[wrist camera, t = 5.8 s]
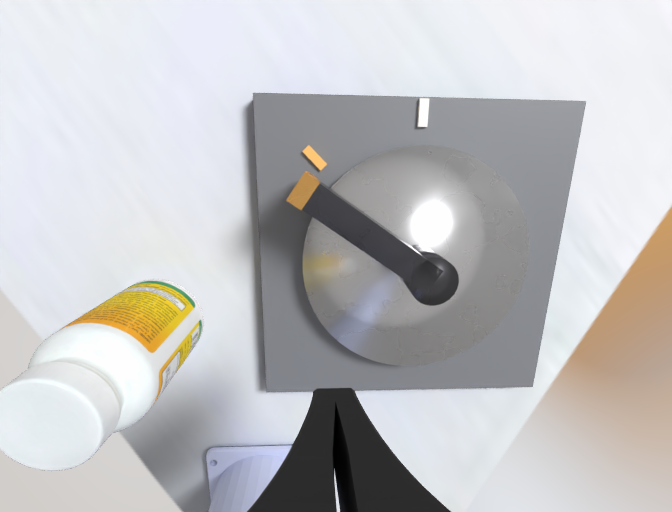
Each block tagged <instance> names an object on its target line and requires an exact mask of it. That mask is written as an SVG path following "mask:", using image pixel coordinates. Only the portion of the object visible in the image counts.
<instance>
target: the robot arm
mask: <svg viewBox="0 0 672 512" xmlns="http://www.w3.org/2000/svg"><path fill="white" fill-rule="evenodd" d="M213 460H215V461H213ZM206 462H207V472H208V481H209V491H210V501H211V504H210V507H209V510H208V512H337V511H336V498H335V485H334V468H335V475H336V483H337V490H338V497H339V504H340V512H451V511H450V510H448V509H447V508H446V507H445V506H444V505H443V504H442V503H441V502H439V501H438V500H437V499H436V498H435V497H434V496H433V495H432V494H431V493H430V492H429V491H428V490H426V489H425V488H424V487H423V486H422V485H421V484H420V483H419V482H418V480H417V479H416V478H415V477H414V476H413V475H412V474H411V473H410V472H409V471H408V470H407V469H406V467H405V466H404V465H403V464H402V463H401V462H400V461H399V459H398V458H397V457H396V456H395V454H394V453H393V452H392V451H391V449H390V448H389V447H388V445H387V444H386V443H385V441H384V440H383V439H382V437H381V436H380V434H379V433H378V432H377V430H376V428H375V427H374V425H373V424H372V422H371V421H370V419H369V418H368V416H367V414H366V413H365V411H364V409H363V407H362V406H361V404H360V402H359V400H358V398H357V396H356V394H355V391H354V390H353V389H352V388H317V389H316V390H314V391H313V397H312V401H311V404H310V407H309V410H308V413H307V416H306V418H305V420H304V423H303V425H302V427H301V429H300V432H299V434H298V436H297V438H296V439H295V441H294V443H293V445H285V446H249V447H214V448H210V449H209V450H208V452H207V454H206Z"/></svg>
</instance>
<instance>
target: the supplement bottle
mask: <svg viewBox="0 0 672 512" xmlns="http://www.w3.org/2000/svg"><path fill="white" fill-rule="evenodd" d="M203 326H204V319H203V313H202V310H201V307H200V305H199V303H198V301H197V300H196V299H195V297H194V296H193V295H192V294H191V293H190V292H188V291H187V290H186V289H184V288H183V287H181V286H179V285H178V284H176V283H173V282H170V281H167V280H161V279H150V280H144V281H141V282H138V283H136V284H134V285H132V286H130V287H128V288H127V289H125V290H124V291H122V292H120V293H118V294H117V295H115V296H113V297H112V298H110V299H109V300H107V301H105V302H104V303H102V304H101V305H99V306H97V307H96V308H94V309H93V310H91V311H89V312H88V313H86V314H84V315H83V316H81V317H80V318H78V319H76V320H75V321H73V322H71V323H70V324H68V325H67V326H65V327H63V328H62V329H60V330H59V331H57V332H55V333H54V334H52V335H51V336H49V337H48V338H47V339H46V340H45V341H44V342H43V343H42V344H41V345H40V346H39V347H38V348H37V350H36V351H35V352H34V354H33V356H32V358H31V360H30V363H29V366H28V370H26V371H24V372H23V373H22V374H21V375H19V376H18V377H17V378H15V379H14V380H13V381H11V382H10V383H9V384H8V385H6V386H5V387H3V388H2V389H1V390H0V450H1V451H2V452H3V453H4V454H6V455H7V456H8V457H10V458H11V459H13V460H15V461H17V462H18V463H20V464H22V465H25V466H27V467H30V468H34V469H39V470H48V471H57V470H66V469H70V468H73V467H76V466H78V465H80V464H83V463H84V462H86V461H87V460H89V459H90V458H91V457H92V456H93V455H94V454H95V453H96V452H97V451H98V449H99V448H100V447H101V446H102V444H103V443H104V442H105V441H106V439H107V438H108V437H109V436H110V435H111V434H112V433H115V432H118V431H121V430H123V429H126V428H128V427H129V426H131V425H133V424H134V423H136V422H137V421H138V420H140V419H141V418H142V417H143V416H144V415H145V414H146V413H147V412H148V411H149V409H150V408H151V407H152V406H153V404H154V403H155V401H156V400H157V399H158V397H159V396H160V395H161V393H162V392H163V390H164V389H165V387H166V386H167V385H168V383H169V382H170V380H171V379H172V378H173V376H174V375H175V373H176V372H177V371H178V369H179V368H180V366H181V365H182V364H183V362H184V361H185V359H186V358H187V357H188V355H189V354H190V352H191V351H192V349H193V348H194V347H195V345H196V343H197V342H198V340H199V339H200V336H201V334H202V331H203Z"/></svg>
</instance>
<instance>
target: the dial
mask: <svg viewBox="0 0 672 512" xmlns="http://www.w3.org/2000/svg"><path fill="white" fill-rule="evenodd" d="M286 201H288V202H289V203H291V204H292V205H294V206H295V207H297V208H298V209H300V210H303V211H305V212H306V213H308V214H309V215H311V216H312V219H311V221H310V223H309V227H308V230H307V234H306V238H305V243H304V250H303V278H304V285H305V289H306V292H307V296H308V299H309V301H310V304H311V306H312V308H313V311H314V312H315V314H316V316H317V317H318V319H319V321H320V322H321V324H322V325H323V326H324V327H325V329H326V330H327V331H328V332H329V333H330V334H331V335H332V336H333V337H334V338H335V339H336V340H337V341H338V342H339V343H341V344H342V345H344V346H345V347H346V348H348V349H349V350H351V351H353V352H354V353H356V354H358V355H360V356H362V357H365V358H367V359H370V360H373V361H376V362H380V363H384V364H389V365H398V366H417V365H425V364H431V363H435V362H439V361H443V360H445V359H448V358H451V357H454V356H456V355H458V354H460V353H462V352H464V351H466V350H468V349H469V348H471V347H472V346H474V345H476V344H477V343H479V342H480V341H481V340H482V339H484V338H485V337H486V336H487V335H489V334H490V333H491V332H492V331H493V330H494V329H495V328H496V327H497V326H498V325H499V324H500V322H501V321H502V320H503V319H504V317H505V316H506V315H507V313H508V312H509V310H510V309H511V307H512V305H513V304H514V302H515V301H516V299H517V296H518V294H519V292H520V290H521V287H522V285H523V281H524V278H525V275H526V270H527V265H528V259H529V238H528V229H527V225H526V221H525V216H524V214H523V211H522V209H521V206H520V204H519V202H518V200H517V198H516V196H515V195H514V193H513V191H512V190H511V188H510V187H509V186H508V185H507V183H506V182H505V181H504V179H503V178H502V177H501V176H499V175H498V174H497V173H496V172H495V171H494V170H493V169H492V168H491V167H489V166H488V165H486V164H485V163H483V162H482V161H481V160H479V159H477V158H475V157H473V156H471V155H469V154H467V153H464V152H461V151H458V150H455V149H452V148H446V147H440V146H429V145H417V146H408V147H401V148H397V149H393V150H389V151H385V152H382V153H380V154H377V155H375V156H372V157H370V158H368V159H366V160H364V161H362V162H361V163H359V164H357V165H355V166H354V167H353V168H351V169H350V170H349V171H347V172H346V173H345V174H343V175H342V176H341V177H340V178H339V179H338V180H337V181H336V182H335V183H334V184H333V185H332V186H331V188H329V187H328V186H326V185H325V184H323V183H322V182H321V181H320V179H318V178H317V177H315V176H314V175H313V174H311V173H310V172H308V171H305V172H304V174H303V175H302V177H301V178H300V180H299V181H298V183H297V184H296V186H295V187H294V189H293V190H292V192H291V193H290V195H289V196H288V198H287V200H286Z"/></svg>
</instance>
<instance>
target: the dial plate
mask: <svg viewBox="0 0 672 512" xmlns="http://www.w3.org/2000/svg"><path fill="white" fill-rule="evenodd" d="M585 105H586V101H560V100H520V99H480V98H440V97H400V96H360V95H320V94H280V93H253V106H254V128H255V150H256V172H257V194H258V216H259V238H260V260H261V282H262V304H263V326H264V348H265V370H266V392H306V391H314V390H316V389H317V388H352V389H353V390H354V391H356V390H406V389H456V388H506V387H533V382H534V377H535V371H536V366H537V361H538V355H539V350H540V345H541V339H542V334H543V329H544V323H545V318H546V313H547V307H548V302H549V297H550V291H551V286H552V281H553V276H554V270H555V265H556V260H557V254H558V249H559V244H560V238H561V233H562V228H563V222H564V217H565V212H566V206H567V201H568V196H569V190H570V185H571V180H572V174H573V169H574V164H575V158H576V153H577V148H578V142H579V137H580V132H581V126H582V121H583V116H584V110H585ZM417 145H429V146H440V147H446V148H452V149H455V150H458V151H461V152H464V153H467V154H469V155H471V156H473V157H475V158H477V159H479V160H481V161H482V162H483V163H485V164H486V165H488V166H489V167H491V168H492V169H493V170H494V171H495V172H496V173H497V174H498V175H499V176H501V177H502V178H503V179H504V181H505V182H506V183H507V185H508V186H509V187H510V188H511V190H512V191H513V193H514V195H515V196H516V198H517V200H518V202H519V204H520V206H521V209H522V211H523V214H524V216H525V221H526V225H527V229H528V238H529V259H528V265H527V270H526V275H525V278H524V281H523V285H522V287H521V290H520V292H519V294H518V296H517V299H516V301H515V302H514V304H513V305H512V307H511V309H510V310H509V312H508V313H507V315H506V316H505V317H504V319H503V320H502V321H501V322H500V324H499V325H498V326H497V327H496V328H495V329H494V330H493V331H492V332H491V333H490V334H489V335H487V336H486V337H485V338H484V339H482V340H481V341H480V342H479V343H477V344H476V345H474V346H472V347H471V348H469V349H468V350H466V351H464V352H462V353H460V354H458V355H456V356H454V357H451V358H448V359H445V360H443V361H439V362H435V363H431V364H425V365H417V366H398V365H389V364H384V363H380V362H376V361H373V360H370V359H367V358H365V357H362V356H360V355H358V354H356V353H354V352H353V351H351V350H349V349H348V348H346V347H345V346H344V345H342V344H341V343H339V342H338V341H337V340H336V339H335V338H334V337H333V336H332V335H331V334H330V333H329V332H328V331H327V330H326V329H325V327H324V326H323V325H322V324H321V322H320V321H319V319H318V317H317V316H316V314H315V312H314V311H313V308H312V306H311V304H310V301H309V299H308V296H307V292H306V289H305V285H304V278H303V250H304V243H305V238H306V234H307V230H308V227H309V223H310V221H311V219H312V216H311V215H309V214H308V213H306V212H305V211H303V210H300V209H298V208H297V207H295V206H294V205H292V204H291V203H289V202H288V201H286V200H287V198H288V196H289V195H290V193H291V192H292V190H293V189H294V187H295V186H296V184H297V183H298V181H299V180H300V178H301V177H302V175H303V174H304V172H305V171H308V172H310V173H311V174H313V175H314V176H315V177H317V178H318V179H320V181H321V182H322V183H323V184H325V185H326V186H328V187H329V188H331V186H332V185H333V184H334V183H335V182H336V181H337V180H338V179H339V178H340V177H341V176H342V175H343V174H345V173H346V172H347V171H349V170H350V169H351V168H353V167H354V166H355V165H357V164H359V163H361V162H362V161H364V160H366V159H368V158H370V157H372V156H375V155H377V154H380V153H382V152H385V151H389V150H393V149H397V148H401V147H408V146H417Z"/></svg>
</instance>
